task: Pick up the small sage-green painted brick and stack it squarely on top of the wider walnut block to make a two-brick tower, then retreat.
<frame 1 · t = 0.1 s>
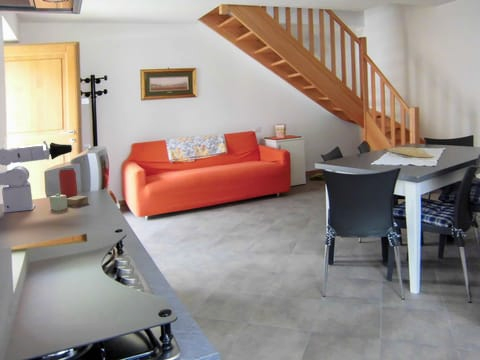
hand: (71, 148, 161), 22 cm above the counter, tool horizontal, fingers open, 7 cm apart
sage brick: (59, 209, 156), on the counter
walnut block: (76, 205, 163), on the counter
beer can: (69, 197, 178), on the counter
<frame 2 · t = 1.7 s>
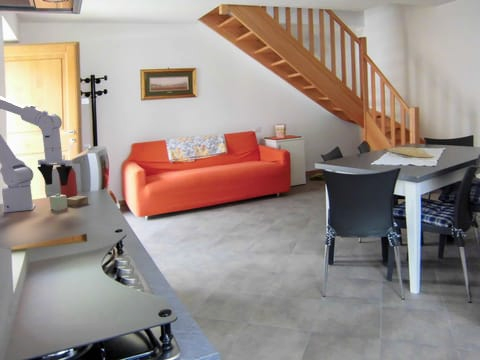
hand: (56, 184, 155), 9 cm above the counter, tool pointing down, fingers open, 7 cm apart
nothing on the counter moved.
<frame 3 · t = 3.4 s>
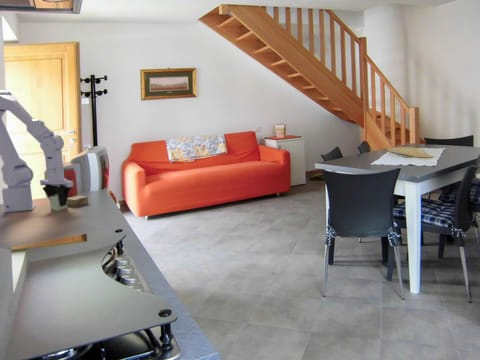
hand: (58, 205, 156), 1 cm above the counter, tool pointing down, fingers closed on sage brick, 4 cm apart
sage brick: (59, 208, 156), on the counter, touching gripper
everything else where it was.
when the fingers open (6 cm above the counter, at t = 6.2 s): sage brick drops 1 cm, point 3 cm above the counter.
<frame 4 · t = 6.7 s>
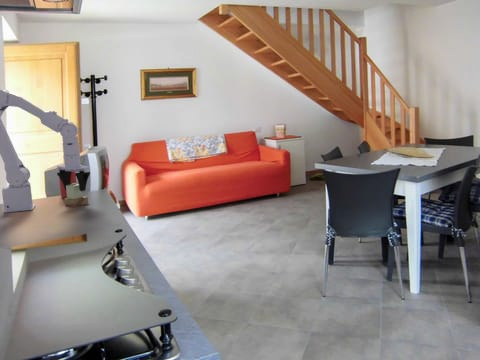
hand: (75, 190, 162), 6 cm above the counter, tool pointing down, fingers open, 7 cm apart
sage brick: (75, 197, 162), point 3 cm above the counter
everything else where it was.
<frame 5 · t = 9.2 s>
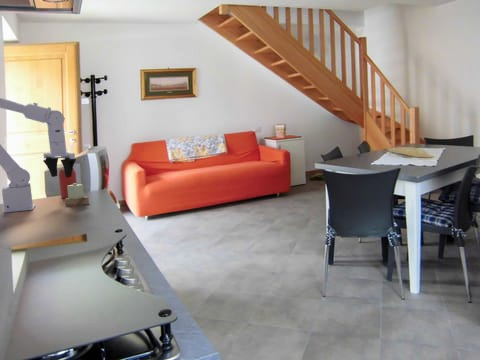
hand: (61, 176, 165), 10 cm above the counter, tool pointing down, fingers open, 7 cm apart
sage brick: (76, 197, 163), point 3 cm above the counter, touching walnut block
walnut block: (77, 205, 163), on the counter, touching sage brick
everything else where it was.
at the end: sage brick 0.1 cm off-centre on the walnut block, point 3.0 cm above the walnut block's base; sage brick tilted 0°; the gripper is holding nothing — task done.
